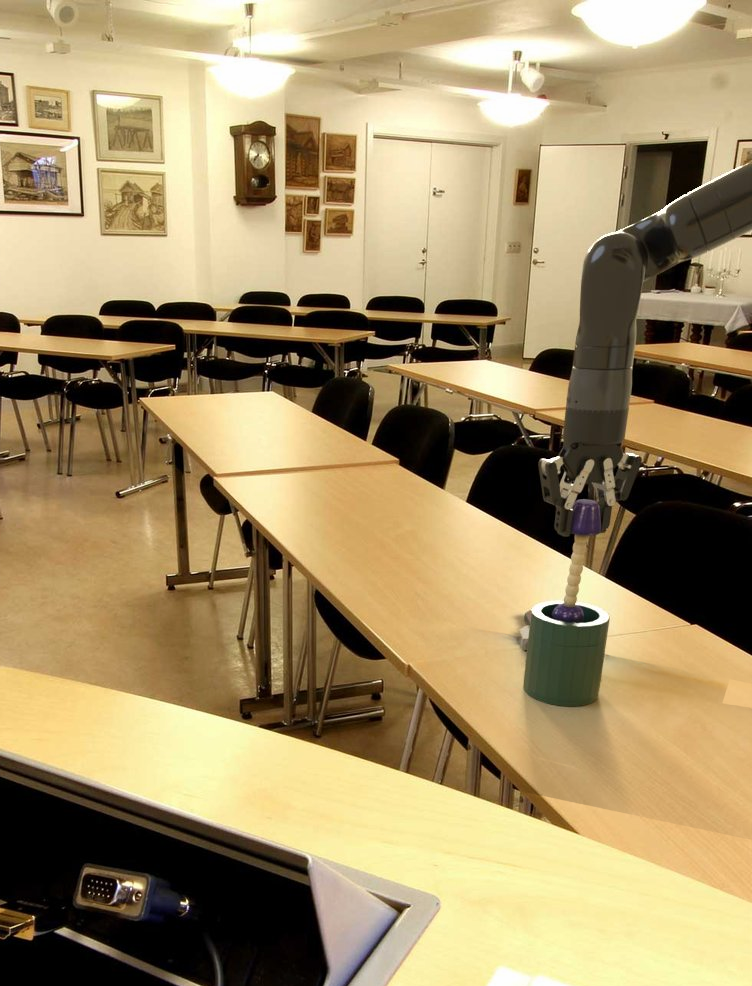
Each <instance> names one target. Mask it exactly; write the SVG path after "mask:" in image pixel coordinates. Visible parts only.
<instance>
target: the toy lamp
mask: <svg viewBox="0 0 752 986" xmlns="http://www.w3.org/2000/svg"><path fill="white" fill-rule="evenodd" d="M571 509H573V517H572V525H571V533H570V534H572V535H574V543H573V545H572V554H571V556H570V565H569V568H568V572H569V574H568V576H567V578H566V582H567V584H566V586H565V595H564V597H563V601H564V603H563V604H560V605H558V606H557V607H556V608H555V609H554V610H553V613H552V616H553V617H554V618H555V619H557V620H559V621H563V622H570V623H575V622H581V621H583V620H584V613H583V610H582V609H581V608H580V607H579V606H577V605H575V604H576V602H578V596H577V595H578V594H579V591H580V587H579V585H580V584H581V581H582V576H581V574H582V573H583V570H584V566H583V564H584V563H585V558H586V555H585V553H586V551H587V542H588V540H589V537H590V536H597V535H599V534H601V533H600V532H601V518H600V508H599V504H598V501H597V500H593V499H586V498H583V499H576V500H575V502H574V504H573V507H572V508H571Z"/></svg>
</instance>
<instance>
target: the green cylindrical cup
mask: <svg viewBox="0 0 752 986" xmlns="http://www.w3.org/2000/svg"><path fill="white" fill-rule="evenodd" d="M563 603H564V600H550V601H549V600H548V601H544V602H540V603H538V604H537V603H536V604H535V605H534V606H533V607H532V608H531V609H530V610H531V618H530V627H529V636H528V645H527V650H526V654H525V655H526V656H525V663H524V673H523V685H522V688H523V691H524V692H525V693H526V694H527V695H528V696H529V697H530V698H532V699H535V700H537V701H539V702H542V703H544V704H548V705H554V706H558V707H560V706H561V707H580V706H586V705H590V704H592V703H594V702H595V701H596V700H597V699H598V697H599V692H600V688H601V682H602V674H603V668H604V661H605V654H606V647H607V639H608V633H609V627H610V619H611V617H610V614H609V613H608V612H607V611H605V610H604V609H603V608H600V607H598V606H595V605H592V604H589V603H584V602H579V601H577V602H576V604H575V605H577V606H579V607H580V608H581V609H582V610H583V613H584V620H583V621H581V622H575V623H570V622H563V621H559V620H557V619H555V618H554V617H553V616H552V613H553V610H554V609H555V608H556V607H557V606H558V605H560V604H563Z"/></svg>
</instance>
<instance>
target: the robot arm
mask: <svg viewBox="0 0 752 986" xmlns="http://www.w3.org/2000/svg"><path fill="white" fill-rule="evenodd" d="M751 231H752V161H750V162H748V163H746V164H743V165H741V166H739V167H737V168H735V169H732V170H731V171H729V172H726V173H724V174H722V175H721V176H718V177H716V178H714V179H713V180H711V181H709V182H707V183H705V184H703V185H701V186H699V187H697V188H695V189H693V190H692V191H689V192H687V194H683V195H682V196H680V197H679V198H677V199H675V200H674V201H672V202H671V203H669V204H668V205H666V206H665V207H664V208H663V209H661V210H660V211H658V212H656V213H654V214H652V215H649V216H647V217H645V218H644V219H641V220H639V221H637V222H634V223H633V224H631V225H629V226H627V227H625V228H623V229H620V230H618V231H616V232H611V233H608V234H605V235H603V236H601V237H600V238H599V239H597V240H596V241H594V242H593V244H592V245H591V246H590V247H589V249H588V250H587V252H586V254H585V256H584V259H583V263H582V270H581V279H580V281H581V282H580V298H579V323H578V328H577V332H576V336H575V343H574V352H573V359H572V360H573V361H572V368H571V373H570V377H569V380H568V381H569V382H568V385H567V393H566V404H565V412H564V420H563V430H562V441H563V442H562V443H563V445H562V448H561V450H560V451H559V454H558V456H556V457H552V458H550V459H546V458H540V459H539V461H538V463H537V465H538V471H539V472H538V473H539V479H540V485H541V492H542V499H543V501H544V502H546V503H548V504H551V505H553V506H555V517H554V525H553V527H554V530H555V531H556V533H557V534H558V535H560V536H561V537H570V536H571V534H572V533H571V525H572V517H573V509H572V508H573V506H574V504H575V502H576V501H577V498H578V495H579V494H581V493H582V491H583V489H584V487H585V485H589V484H592V487H593V488H594V491H595V496H596V502H598V504H599V508H600V518H601V532H600V533H599V534H605V533H606V532H607V529H609V527H610V524H611V520H612V519H611V517H612V512H613V511H612V510H613V506H614V505H615V504H616V503H617V502H620V501H626V500H628V498H629V496H630V493H631V490H632V489H633V486H634V482H635V480H636V478H637V474H638V473H639V470H640V467H641V464H642V462H643V458H642V456H640V455H637V454H634V453H630V452H626V453H625V452H624V450H623V447H622V442H624V441H625V438H626V433H627V425H628V418H629V410H630V403H631V397H632V389H633V388H632V387H633V366H634V359H635V353H636V343H637V318H638V312H639V308H640V303H641V302H640V301H641V297H642V292H643V287H644V282H647V281H649V280H650V279H652V278H654V277H655V276H658V275H660V274H661V273H663V272H665V271H667V270H669V269H670V268H672V267H675V266H676V265H678V264H680V263H683V262H686V261H689V260H692V259H695V258H697V257H700V256H703V255H704V254H707V253H708V252H711V251H713V250H715V249H717V248H719V247H721V246H723V245H725V244H728V243H729V242H731V241H733V240H736V239H738V238H739V237H741V236H744V235H745V234H747V233H750V232H751ZM561 467H562V469H563V471H564V472H563V475H562V477H561V479H560V480H559V475H560V474H561ZM616 467H618V468H617V471H616V474H615V477H614V470H615V469H616ZM572 482H573V483H572Z"/></svg>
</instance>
